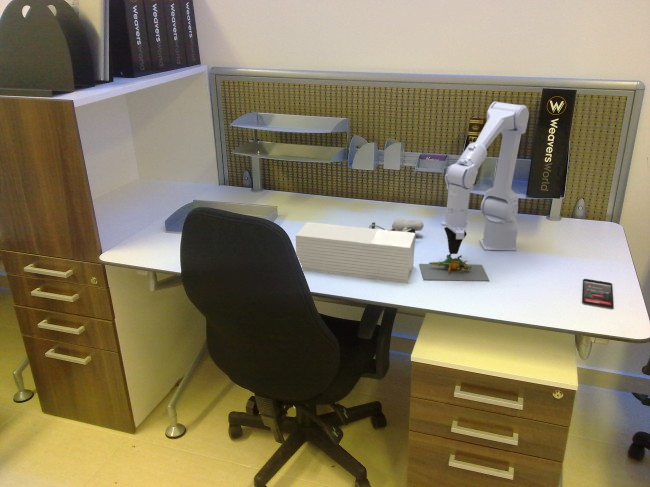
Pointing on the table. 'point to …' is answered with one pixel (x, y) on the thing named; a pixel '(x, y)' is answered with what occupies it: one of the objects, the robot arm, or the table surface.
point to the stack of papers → (356, 251)
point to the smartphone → (597, 294)
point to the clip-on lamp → (404, 226)
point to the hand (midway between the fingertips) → (453, 253)
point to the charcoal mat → (453, 273)
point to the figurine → (453, 263)
